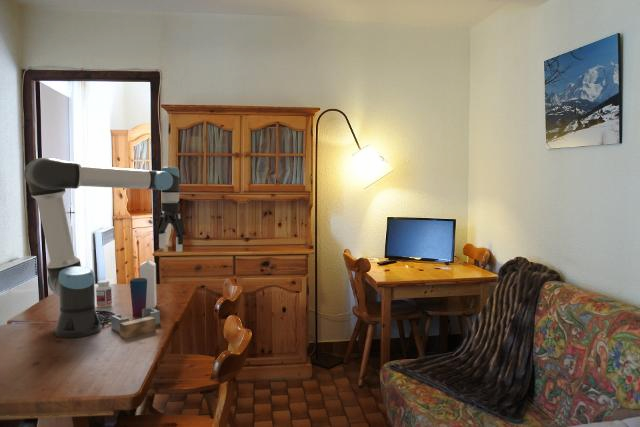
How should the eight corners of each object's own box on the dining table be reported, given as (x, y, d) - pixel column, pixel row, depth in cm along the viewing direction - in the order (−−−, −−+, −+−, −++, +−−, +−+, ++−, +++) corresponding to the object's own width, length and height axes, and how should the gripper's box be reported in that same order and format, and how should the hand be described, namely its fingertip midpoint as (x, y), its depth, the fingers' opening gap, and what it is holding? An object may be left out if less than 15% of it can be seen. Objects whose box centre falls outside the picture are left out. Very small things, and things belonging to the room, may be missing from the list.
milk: (140, 308, 216) (139, 258, 214) (142, 305, 222) (141, 256, 220) (155, 308, 217) (153, 258, 215) (156, 304, 223) (155, 255, 221)
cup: (142, 317, 203) (141, 281, 201) (127, 316, 204) (126, 280, 203) (151, 313, 209) (150, 278, 208) (136, 312, 211) (135, 277, 209)
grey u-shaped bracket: (120, 326, 191) (120, 313, 191) (129, 330, 186) (129, 317, 186) (111, 328, 189) (111, 315, 188) (120, 333, 184) (120, 319, 183)
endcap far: (151, 325, 193) (151, 312, 192) (142, 321, 198) (142, 309, 197) (159, 323, 195) (159, 311, 195) (150, 319, 200) (150, 307, 200)
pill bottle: (109, 303, 224) (108, 279, 223) (113, 306, 219) (113, 281, 218) (94, 305, 220) (94, 280, 219) (98, 308, 216) (98, 283, 215)
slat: (125, 338, 178) (124, 325, 178) (120, 336, 180) (119, 323, 180) (155, 331, 187) (155, 318, 186) (150, 329, 189) (150, 316, 189)
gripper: (194, 203, 213) (194, 252, 215) (162, 200, 229) (162, 245, 231) (178, 203, 207) (179, 254, 209) (147, 200, 224) (148, 247, 225)
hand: (170, 249), depth 220 cm, fingers open, 13 cm apart
